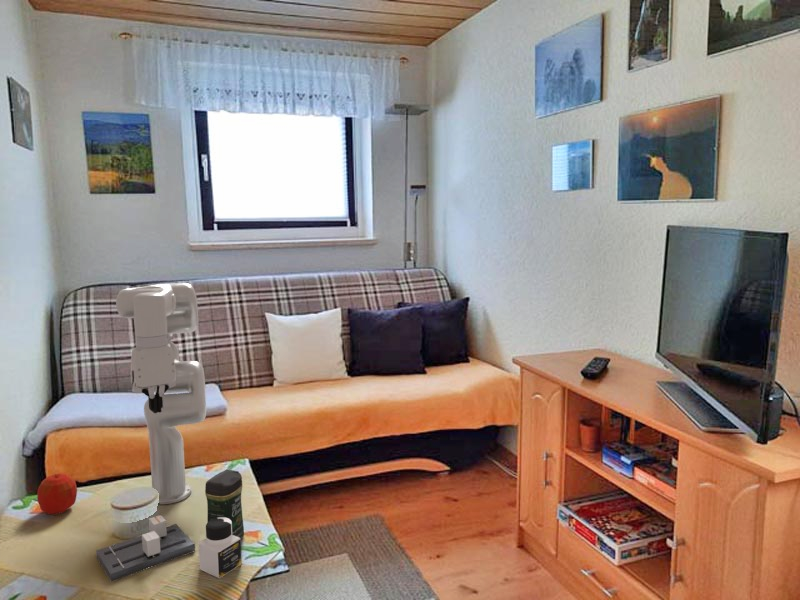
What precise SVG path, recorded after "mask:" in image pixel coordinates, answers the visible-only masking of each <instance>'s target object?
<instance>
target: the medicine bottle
mask: <svg viewBox="0 0 800 600" xmlns="http://www.w3.org/2000/svg"><path fill="white" fill-rule="evenodd" d="M205 537H206V538H205V539H203V540H201V541H200V542H198V563H199V570H200V571H202V572H205V573H206V574H207V575H211V576H213V577H214V578H217V579H222V578H223V577H224V576H225V575H228V574H229V573H231V572H232V571H233V570H236V569H237V568H238V567H240V566H241V565H242V546H241V544H242V543H241V540H242V539H241V540H240V538H239V537H237V536H234V535H232V521H231V520H230V519H229V518H226V517H218V518H214V519H212V520H210V521H209V522H208V523H206V524H205Z"/></svg>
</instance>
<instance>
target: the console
mask: <svg viewBox="0 0 800 600" xmlns="http://www.w3.org/2000/svg"><path fill="white" fill-rule="evenodd" d="M166 530H167V535H166V536H163V537H160V553H157V554H154V555H152V556H149V557H148V556H147V555H146V553H145V552H144V551H143V547H142V535H143V534H141V535H138V536H135V537H133V538H129V539H126V540H123V541H121V542H117V543H115V544H111V545H108V546H105V547H103V548H99V549H96V550H95V554H96V556H95V557H96V559H97V561H98V562H100V563H99V564H100V566H101V568H102V569H103V571H104V572H105V574H106V576H107V577H108V579H109V581H110V582H111V583H112V582H115V581H118V580H120V579H123V578H126V577H129V576H131V574H132V575H134V574H136V572H137V573H140V572H142V571H144V570H143V569H145V570H147V569H146V568H148V567H150V568H152V567H151V566H153V567H156V566H158V565H161V564H163V563H166V562H169V561H171V559H172V560H174V558H175V559H177V558H180V557H183V556H185V554H186V555H188V554H191V553H194V552H195V551H196V543H195V542H194V541H193V540H192V539H191V538H190V537H189V535H187V533H185V532H184V531H183V530H182V528H181V527H180V526H179V525H178V524H177V523H174V524H171V525H167V526H166ZM193 551H194V552H193ZM155 565H156V566H155ZM148 569H149V568H148ZM141 570H142V571H141ZM139 571H140V572H139Z"/></svg>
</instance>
